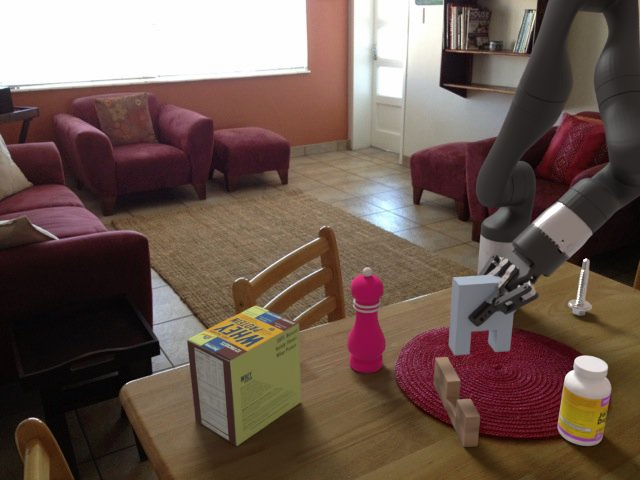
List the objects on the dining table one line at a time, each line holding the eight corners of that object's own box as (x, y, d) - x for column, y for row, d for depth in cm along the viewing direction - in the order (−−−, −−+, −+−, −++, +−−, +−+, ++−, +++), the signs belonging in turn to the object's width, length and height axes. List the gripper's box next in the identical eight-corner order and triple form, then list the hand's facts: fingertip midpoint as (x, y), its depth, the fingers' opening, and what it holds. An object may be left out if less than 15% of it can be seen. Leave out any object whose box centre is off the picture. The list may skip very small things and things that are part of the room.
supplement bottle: (598, 453, 92) (611, 380, 87) (552, 438, 95) (563, 367, 91) (605, 429, 97) (618, 359, 93) (561, 415, 100) (572, 347, 96)
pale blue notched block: (454, 355, 95) (459, 285, 91) (448, 345, 98) (452, 277, 94) (509, 350, 96) (516, 281, 92) (502, 341, 99) (508, 273, 95)
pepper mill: (390, 359, 117) (393, 263, 110) (377, 378, 111) (379, 278, 104) (355, 351, 120) (356, 257, 113) (341, 369, 114) (341, 271, 107)
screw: (567, 316, 133) (566, 306, 137) (591, 319, 131) (589, 309, 136) (574, 261, 128) (574, 253, 133) (599, 264, 127) (598, 255, 131)
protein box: (302, 401, 105) (300, 321, 100) (236, 448, 94) (229, 361, 89) (260, 380, 111) (255, 303, 106) (193, 421, 100) (184, 338, 95)
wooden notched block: (433, 384, 109) (435, 357, 107) (445, 383, 110) (447, 356, 108) (463, 447, 93) (466, 417, 92) (477, 446, 94) (480, 416, 92)
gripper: (516, 209, 97) (438, 284, 100) (559, 239, 84) (468, 324, 87) (544, 238, 100) (467, 311, 102) (590, 272, 86) (501, 354, 89)
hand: (468, 316), depth 95 cm, fingers closed on pale blue notched block, 3 cm apart
